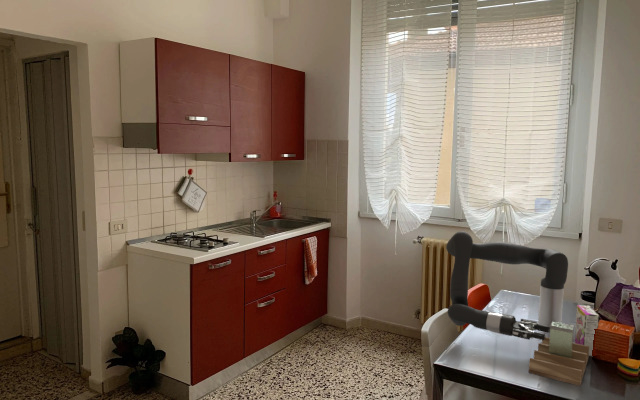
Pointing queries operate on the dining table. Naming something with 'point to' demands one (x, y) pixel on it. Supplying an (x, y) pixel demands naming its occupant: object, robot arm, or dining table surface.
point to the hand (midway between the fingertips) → (546, 333)
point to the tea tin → (561, 339)
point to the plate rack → (560, 363)
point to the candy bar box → (586, 326)
